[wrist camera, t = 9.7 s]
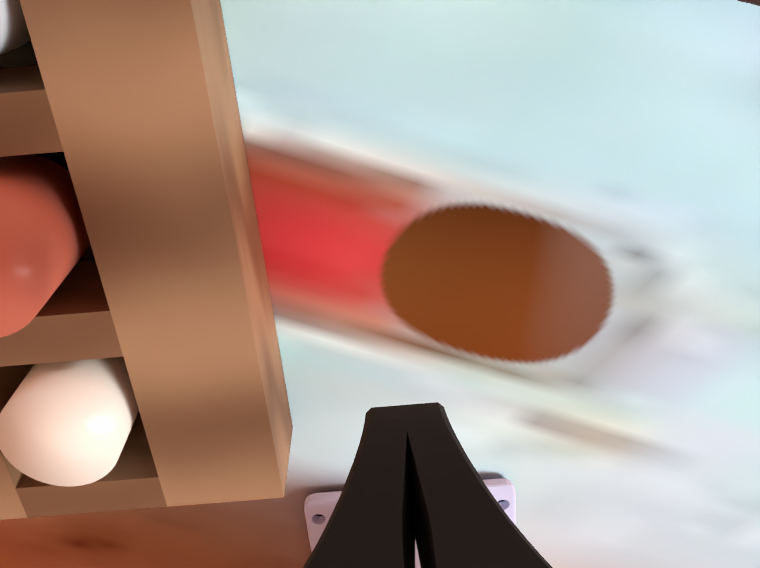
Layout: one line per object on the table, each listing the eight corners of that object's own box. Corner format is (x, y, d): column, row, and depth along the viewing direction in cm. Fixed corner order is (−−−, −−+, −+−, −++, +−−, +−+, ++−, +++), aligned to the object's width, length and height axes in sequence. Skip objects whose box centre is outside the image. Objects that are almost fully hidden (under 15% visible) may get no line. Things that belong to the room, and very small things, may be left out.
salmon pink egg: (109, 262, 21) (61, 333, 18) (-9, 273, 21) (-79, 344, 18) (77, 148, 20) (17, 200, 16) (-51, 158, 20) (-137, 213, 16)
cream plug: (163, 402, 25) (132, 481, 22) (63, 410, 25) (17, 490, 22) (139, 315, 24) (103, 386, 20) (33, 324, 24) (-23, 396, 20)
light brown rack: (292, 427, 26) (284, 497, 23) (-36, 453, 26) (-89, 526, 23) (185, -199, 17) (148, -221, 14) (-309, -155, 18) (-452, -167, 14)
